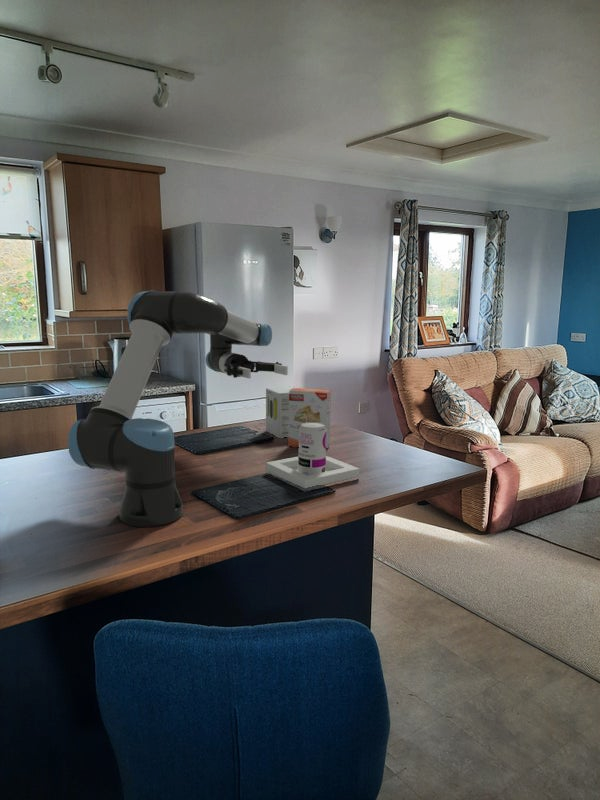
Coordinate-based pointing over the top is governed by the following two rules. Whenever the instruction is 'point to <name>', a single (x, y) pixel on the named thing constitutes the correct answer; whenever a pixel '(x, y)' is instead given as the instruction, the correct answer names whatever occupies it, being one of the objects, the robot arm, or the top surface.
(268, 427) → the supplement box
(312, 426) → the supplement can
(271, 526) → the top surface
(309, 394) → the cracker box
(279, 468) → the tray
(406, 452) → the top surface
